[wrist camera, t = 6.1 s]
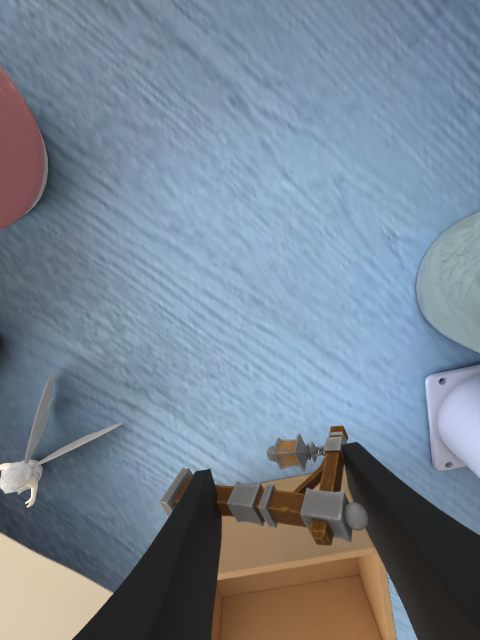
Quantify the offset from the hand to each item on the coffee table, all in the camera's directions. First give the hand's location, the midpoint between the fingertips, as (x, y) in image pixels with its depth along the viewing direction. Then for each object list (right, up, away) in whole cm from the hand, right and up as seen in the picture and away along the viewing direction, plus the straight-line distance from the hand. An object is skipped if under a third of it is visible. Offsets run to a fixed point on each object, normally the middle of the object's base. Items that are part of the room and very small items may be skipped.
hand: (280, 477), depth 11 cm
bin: (+1, -12, +12) cm, 17 cm away
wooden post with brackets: (-1, 0, +2) cm, 2 cm away
